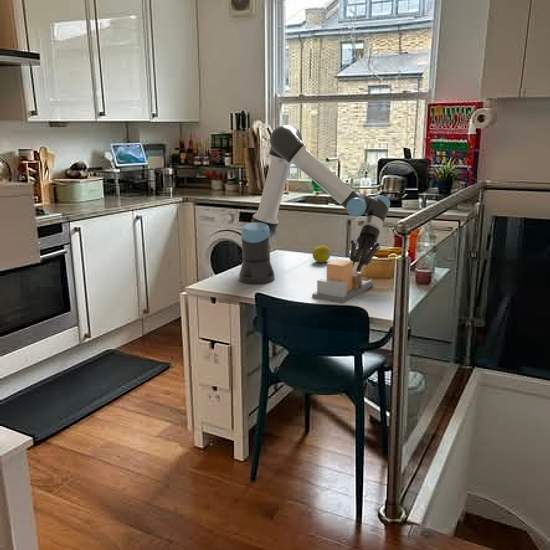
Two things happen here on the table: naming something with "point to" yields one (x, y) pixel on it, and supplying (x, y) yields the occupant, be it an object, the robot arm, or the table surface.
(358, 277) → the block
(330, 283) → the vise
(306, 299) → the table surface
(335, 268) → the block
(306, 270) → the table surface
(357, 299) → the table surface
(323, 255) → the lemon
